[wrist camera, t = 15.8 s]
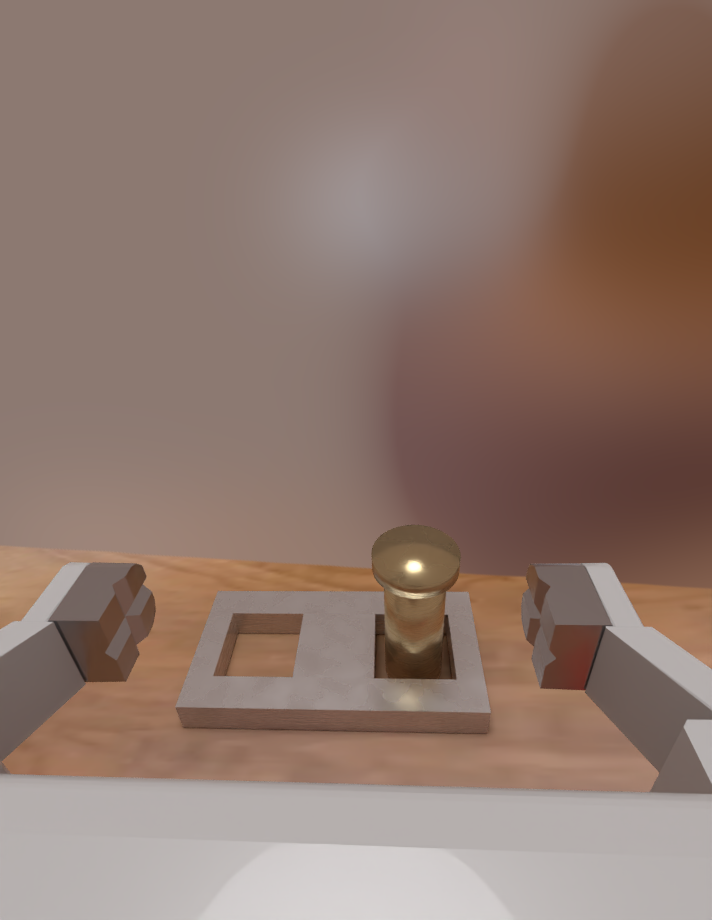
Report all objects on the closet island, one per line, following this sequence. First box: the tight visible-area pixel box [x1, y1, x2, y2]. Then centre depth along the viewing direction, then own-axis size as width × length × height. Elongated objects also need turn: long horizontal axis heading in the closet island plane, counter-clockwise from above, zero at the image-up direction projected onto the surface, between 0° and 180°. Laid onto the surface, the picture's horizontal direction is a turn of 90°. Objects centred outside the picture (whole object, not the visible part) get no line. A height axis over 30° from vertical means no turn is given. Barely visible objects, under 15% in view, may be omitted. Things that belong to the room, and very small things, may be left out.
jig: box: [175, 591, 491, 734], centre depth 41 cm, size 22×11×2 cm, turn 87°
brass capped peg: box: [372, 525, 461, 679], centre depth 38 cm, size 6×6×12 cm
